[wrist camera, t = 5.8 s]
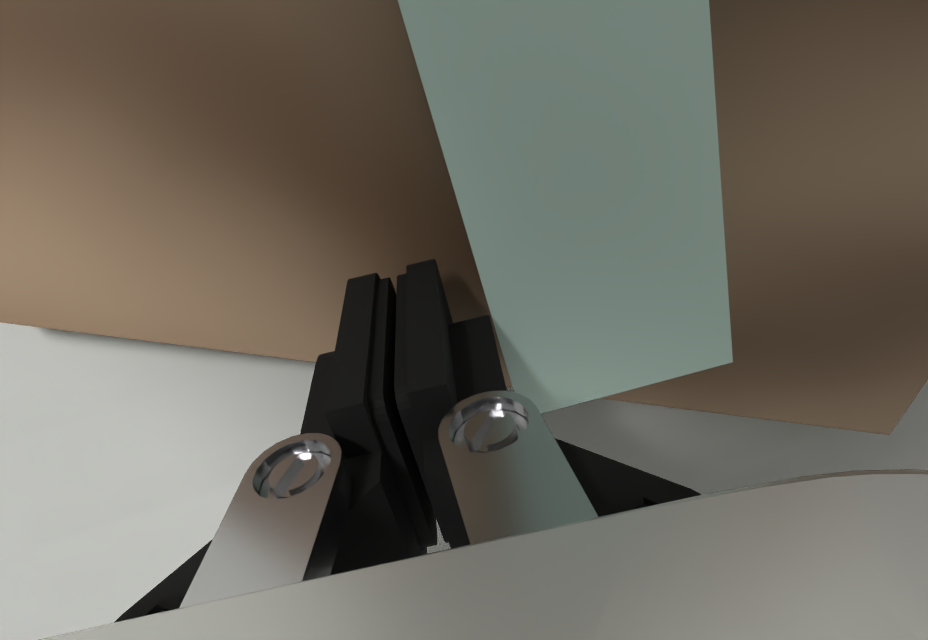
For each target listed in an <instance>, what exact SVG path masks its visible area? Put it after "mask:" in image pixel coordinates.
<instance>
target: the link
mask: <svg viewBox="0 0 928 640" xmlns="http://www.w3.org/2000/svg"><path fill="white" fill-rule="evenodd" d="M398 3H399V7H400V10H401V13H402V17H403V20H404V23H405V27H406V30H407V33H408V37H409V40H410V44H411V47H412V50H413V54H414V57H415V60H416V64H417V67H418V70H419V74H420V77H421V81H422V84H423V87H424V91H425V94H426V97H427V101H428V104H429V107H430V111H431V114H432V118H433V121H434V124H435V128H436V131H437V134H438V138H439V141H440V144H441V148H442V151H443V155H444V158H445V161H446V165H447V168H448V171H449V175H450V178H451V182H452V185H453V188H454V192H455V195H456V198H457V202H458V205H459V208H460V212H461V215H462V219H463V222H464V225H465V229H466V232H467V235H468V239H469V242H470V245H471V249H472V252H473V256H474V259H475V262H476V266H477V269H478V272H479V276H480V279H481V282H482V286H483V289H484V293H485V296H486V299H487V303H488V306H489V309H490V313H491V316H492V319H493V323H494V326H495V330H496V333H497V336H498V340H499V343H500V346H501V350H502V353H503V356H504V360H505V363H506V367H507V370H508V373H509V377H510V380H511V383H512V387H513V390H514V393H519V394H521V395H523V396H525V397H527V398H529V399H530V400H531V401H532V402H533V403H534V404H535V405H536V407H537V408H538V410H539V412H540V413H541V414H542V413H546V412H550V411H553V410H557V409H561V408H565V407H568V406H572V405H576V404H579V403H583V402H587V401H590V400H594V399H598V398H602V397H605V396H609V395H613V394H616V393H620V392H624V391H628V390H631V389H635V388H639V387H642V386H646V385H650V384H654V383H657V382H661V381H665V380H668V379H672V378H676V377H680V376H683V375H687V374H691V373H694V372H698V371H702V370H706V369H709V368H713V367H717V366H720V365H724V364H728V363H732V362H733V356H732V341H731V326H730V311H729V296H728V281H727V265H726V250H725V235H724V220H723V205H722V190H721V175H720V160H719V145H718V130H717V115H716V100H715V84H714V69H713V54H712V39H711V24H710V9H709V0H398Z"/></svg>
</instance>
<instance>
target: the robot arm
mask: <svg viewBox="0 0 928 640" xmlns="http://www.w3.org/2000/svg"><path fill="white" fill-rule="evenodd" d="M436 519H437V522H438V524H439V527H440V530H441V533H442V536H443V538H444V541H445V542H446V543H448V542H449V544H450V547H451V549H448V550H443V551H438V552H434V553H429V554H427V547H429V546H433V545H437V525H436ZM40 640H928V470H914V469H905V470H865V471H848V472H839V473H830V474H821V475H812V476H803V477H797V478H792V479H786V480H781V481H775V482H770V483H764V484H759V485H753V486H748V487H742V488H737V489H731V490H726V491H720V492H715V493H709V494H704V495H701V494H700V493H698V492H696V491H694V490H692V489H689V488H687V487H684V486H681V485H679V484H676V483H673V482H671V481H668V480H665V479H663V478H660V477H657V476H655V475H652V474H649V473H647V472H644V471H641V470H639V469H636V468H633V467H630V466H628V465H625V464H622V463H620V462H617V461H614V460H612V459H609V458H606V457H604V456H601V455H598V454H596V453H593V452H590V451H588V450H585V449H582V448H580V447H577V446H574V445H571V444H569V443H566V442H563V441H561V440H558V439H555V438H554V437H553V435H552V433H551V431H550V429H549V428H548V426H547V424H546V422H545V420H544V419H543V417H542V415H541V413H540V412H539V410H538V408H537V407H536V405H535V404H534V403H533V402H532V401H531V400H530V399H529V398H527V397H525V396H523V395H521V394H519V393H514V392H509V391H507V389H506V385H505V380H504V376H503V372H502V367H501V363H500V359H499V355H498V350H497V346H496V342H495V338H494V333H493V329H492V325H491V321H490V316H489V315H486V316H481V317H477V318H473V319H469V320H464V321H460V322H456V323H453V321H452V317H451V314H450V310H449V306H448V303H447V299H446V295H445V292H444V288H443V284H442V280H441V277H440V273H439V270H438V266H437V263H436V260H435V259H431V260H427V261H423V262H419V263H414V264H410V265H407V266H406V273H405V274H401V275H397V294H396V292H395V289H394V286H393V283H392V281H391V279H390V277H388V278H384V279H380V277H379V275H378V273H372V274H368V275H364V276H360V277H356V278H351V279H348V281H347V286H346V291H345V297H344V302H343V308H342V313H341V319H340V325H339V330H338V336H337V341H336V347H335V351H332V352H328V353H323V354H320V355H319V356H318V358H317V361H316V365H315V370H314V374H313V379H312V383H311V388H310V392H309V397H308V402H307V406H306V411H305V415H304V420H303V424H302V429H301V433H300V435H297V436H292V437H290V438H287V439H285V440H283V441H281V442H278V443H276V444H275V445H273V446H272V447H270V448H269V449H267V450H266V451H264V452H263V453H262V454H261V455H260V456H259V457H258V458H257V459H256V460H255V461H254V462H253V463H252V464H251V466H250V467H249V469H248V470H247V472H246V473H245V475H244V477H243V479H242V481H241V483H240V485H239V487H238V489H237V491H236V493H235V495H234V497H233V499H232V501H231V504H230V506H229V508H228V510H227V512H226V514H225V516H224V518H223V520H222V522H221V524H220V526H219V528H218V530H217V532H216V534H215V536H214V538H213V539H212V540H211V541H210V542H209V543H208V544H206V545H205V546H204V547H203V548H202V549H200V550H199V551H198V552H197V553H196V554H194V555H193V556H192V557H191V558H190V559H188V560H187V561H186V562H185V563H184V564H182V565H181V566H180V567H179V568H178V569H176V570H175V571H174V572H173V573H172V574H170V575H169V576H168V577H167V578H165V579H164V580H163V581H162V582H161V583H159V584H158V585H157V586H156V587H155V588H153V589H152V590H151V591H150V592H149V593H147V594H146V595H145V596H144V597H143V598H141V599H140V600H139V601H138V602H137V603H135V604H134V605H133V606H132V607H131V608H129V609H128V610H127V611H126V612H125V613H123V614H122V615H121V616H120V617H119V618H118V619H117V620H116V621H115V622H114V623H111V624H107V625H102V626H98V627H93V628H89V629H84V630H80V631H75V632H71V633H66V634H62V635H58V636H53V637H49V638H44V639H40Z"/></svg>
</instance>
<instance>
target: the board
mask: <svg viewBox="0 0 928 640" xmlns="http://www.w3.org/2000/svg"><path fill="white" fill-rule="evenodd" d="M709 9H710V24H711V39H712V54H713V69H714V84H715V100H716V115H717V130H718V145H719V160H720V175H721V190H722V205H723V220H724V235H725V250H726V265H727V281H728V296H729V311H730V326H731V341H732V356H733V362H732V363H728V364H724V365H720V366H717V367H713V368H709V369H706V370H702V371H698V372H694V373H691V374H687V375H683V376H680V377H676V378H672V379H668V380H665V381H661V382H657V383H654V384H650V385H646V386H642V387H639V388H635V389H631V390H628V391H624V392H620V393H616V394H613V395H609V396H605V397H602V399H610V400H618V401H626V402H634V403H642V404H650V405H657V406H665V407H673V408H681V409H689V410H697V411H705V412H713V413H721V414H729V415H736V416H744V417H752V418H760V419H768V420H776V421H784V422H792V423H800V424H807V425H815V426H823V427H831V428H839V429H847V430H855V431H863V432H871V433H879V434H886V435H889V434H890V433H891V432H892V430H893V429H894V427H895V426H896V424H897V423H898V421H899V420H900V418H901V417H902V416H903V414H904V413H905V411H906V410H907V408H908V407H909V405H910V404H911V403H912V401H913V400H914V398H915V397H916V395H917V394H918V392H919V391H920V389H921V388H922V387H923V385H924V384H925V382H926V381H927V379H928V0H709ZM431 259H435V260H436V263H437V266H438V270H439V273H440V277H441V280H442V284H443V288H444V292H445V295H446V299H447V303H448V306H449V310H450V314H451V317H452V321H453V323H456V322H460V321H464V320H469V319H473V318H477V317H481V316H486V315H489V316H490V321H491V325H492V329H493V333H494V338H495V342H496V346H497V350H498V355H499V359H500V363H501V367H502V372H503V376H504V380H505V385H506V386H507V387H512V383H511V380H510V377H509V373H508V370H507V367H506V363H505V360H504V356H503V353H502V350H501V346H500V343H499V340H498V336H497V333H496V330H495V326H494V323H493V319H492V316H491V313H490V309H489V306H488V303H487V299H486V296H485V293H484V289H483V286H482V282H481V279H480V276H479V272H478V269H477V266H476V262H475V259H474V256H473V252H472V249H471V245H470V242H469V239H468V235H467V232H466V229H465V225H464V222H463V219H462V215H461V212H460V208H459V205H458V202H457V198H456V195H455V192H454V188H453V185H452V182H451V178H450V175H449V171H448V168H447V165H446V161H445V158H444V155H443V151H442V148H441V144H440V141H439V138H438V134H437V131H436V128H435V124H434V121H433V118H432V114H431V111H430V107H429V104H428V101H427V97H426V94H425V91H424V87H423V84H422V81H421V77H420V74H419V70H418V67H417V64H416V60H415V57H414V54H413V50H412V47H411V44H410V40H409V37H408V33H407V30H406V27H405V23H404V20H403V17H402V13H401V10H400V7H399V3H398V0H0V322H2V323H10V324H18V325H26V326H34V327H42V328H50V329H58V330H65V331H73V332H81V333H89V334H97V335H105V336H113V337H121V338H129V339H136V340H144V341H152V342H160V343H168V344H176V345H184V346H192V347H200V348H208V349H215V350H223V351H231V352H239V353H247V354H255V355H263V356H271V357H279V358H286V359H294V360H302V361H310V362H316V361H317V358H318V356H319V355H320V354H323V353H328V352H332V351H335V347H336V341H337V336H338V330H339V325H340V319H341V313H342V308H343V302H344V297H345V291H346V286H347V281H348V279H351V278H356V277H360V276H364V275H368V274H372V273H378V275H379V277H380V279H384V278H388V277H390V279H391V281H392V283H393V286H394V289H395V292H396V294H397V275H401V274H405V273H406V266H407V265H410V264H414V263H419V262H423V261H427V260H431Z"/></svg>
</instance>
